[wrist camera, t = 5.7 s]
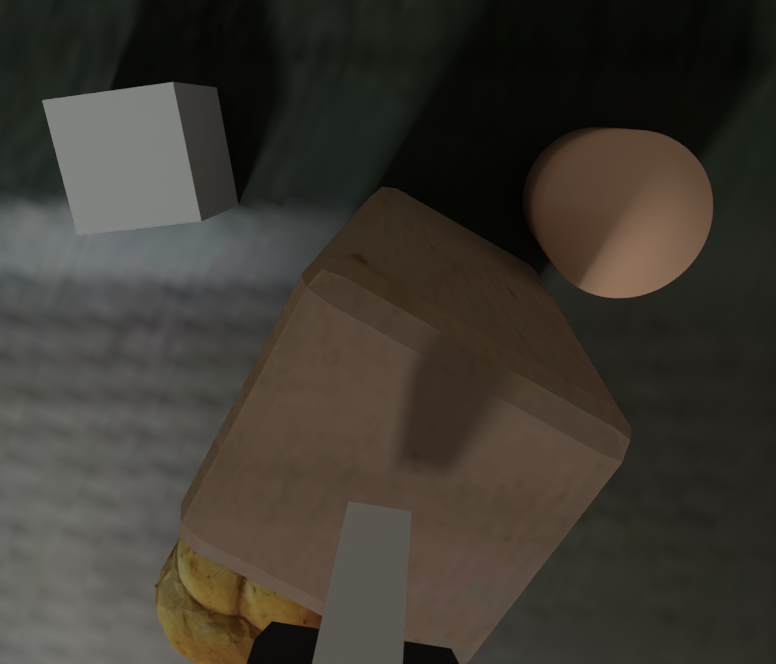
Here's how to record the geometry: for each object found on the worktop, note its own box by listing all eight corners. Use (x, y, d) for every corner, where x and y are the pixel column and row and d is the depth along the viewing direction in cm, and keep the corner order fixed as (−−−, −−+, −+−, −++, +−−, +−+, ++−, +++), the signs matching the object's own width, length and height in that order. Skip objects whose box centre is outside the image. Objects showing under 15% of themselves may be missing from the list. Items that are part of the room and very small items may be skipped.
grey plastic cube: (133, 217, 37) (77, 235, 31) (106, 102, 35) (42, 100, 30) (239, 204, 36) (201, 221, 31) (217, 87, 35) (172, 82, 29)
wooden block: (381, 177, 35) (311, 249, 16) (544, 270, 36) (658, 442, 17) (296, 333, 38) (154, 549, 19) (449, 416, 39) (456, 700, 20)
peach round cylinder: (510, 253, 36) (525, 284, 29) (537, 117, 34) (560, 118, 27) (641, 273, 36) (686, 309, 29) (676, 137, 34) (734, 143, 27)
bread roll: (256, 651, 46) (219, 759, 38) (137, 570, 44) (74, 665, 37) (373, 528, 42) (357, 620, 34) (247, 436, 41) (202, 510, 33)
